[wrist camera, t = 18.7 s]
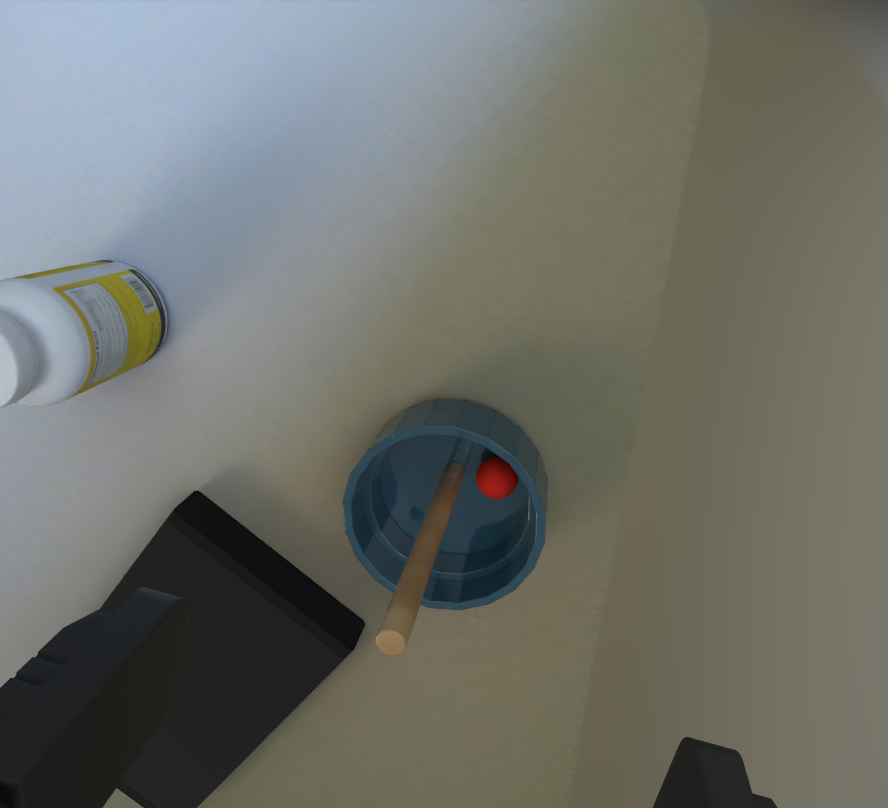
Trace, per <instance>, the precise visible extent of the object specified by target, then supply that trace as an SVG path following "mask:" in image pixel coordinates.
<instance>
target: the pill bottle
mask: <svg viewBox="0 0 888 808" xmlns="http://www.w3.org/2000/svg"><path fill="white" fill-rule="evenodd" d="M167 326H168V320H167V312H166V308H165V304H164V302H163V299H162V297H161V295H160V293H159V292H158V290H157V289H156V287H155V286H154V284H153V283H152V282H151V281H150V280H149V279H148V278H147V277H146V276H145V275H144V274H143V273H141V272H140V271H138V270H137V269H135V268H134V267H132V266H130V265H127V264H125V263H121V262H118V261H110V260H103V261H95V262H90V263H85V264H79V265H74V266H69V267H64V268H58V269H53V270H48V271H43V272H39V273H34V274H29V275H24V276H19V277H14V278H9V279H5V280H1V281H0V408H2V407H5V406H7V405H10V404H12V403H14V402H15V403H18V404H22V405H26V406H48V405H53V404H57V403H59V402H62V401H64V400H67V399H69V398H71V397H73V396H75V395H77V394H79V393H82V392H84V391H86V390H88V389H90V388H92V387H94V386H96V385H98V384H101V383H103V382H105V381H107V380H109V379H111V378H113V377H116V376H118V375H120V374H122V373H124V372H126V371H128V370H130V369H132V368H134V367H136V366H138V365H141V364H143V363H145V362H146V361H148V360H149V359H151V358H152V357H153V356H154V355H155V354H156V353H157V352H158V351H159V349H160V348H161V346H162V344H163V342H164V340H165V337H166V333H167Z"/></svg>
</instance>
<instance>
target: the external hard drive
mask: <svg viewBox="0 0 888 808" xmlns="http://www.w3.org/2000/svg"><path fill="white" fill-rule="evenodd" d="M141 587H145V588H148V589H152V590H156V591H159V592H163V593H167V594H170V595H174V596H178V597H181V598H185V599H187V600H188V603H189V625H188V642H187V659H186V672H185V678H184V682H183V685H182V688H181V691H180V694H179V696H178V698H177V700H176V702H175V704H174V706H173V708H172V710H171V711H170V713H169V714H168V716H167V717H166V718H165V720H164V721H163V723H162V724H161V725H160V727H159V728H158V730H157V731H156V733H155V734H154V735H153V737H152V738H151V740H150V741H149V742H148V744H147V745H146V747H145V748H144V750H143V751H142V752H141V754H140V755H139V757H138V758H137V759H136V761H135V762H134V764H133V765H132V767H131V768H130V769H129V771H128V772H127V774H126V775H125V776H124V778H123V779H122V781H121V782H120V784H119V785H118V786H117V788H118V789H119V790H120V791H122V792H123V793H124V794H126V795H127V796H129V797H130V798H131V799H133V800H134V801H135V802H137V803H138V804H139V805H141V806H142V807H144V808H197V807H198V806H199V805H200V804H201V803H202V802H203V801H204V800H205V799H206V798H207V797H208V796H209V795H210V794H211V793H212V792H213V791H214V790H215V789H216V788H217V787H218V786H219V785H220V784H221V783H222V782H223V781H224V780H225V779H226V778H227V777H228V776H229V775H230V774H231V773H232V772H233V771H234V770H235V769H236V768H237V767H238V766H239V765H240V764H241V763H242V762H243V761H244V760H245V759H246V758H247V757H248V756H249V755H250V754H251V753H252V752H253V751H254V750H255V749H256V748H257V747H258V746H259V745H260V744H261V743H262V741H263V740H264V739H265V738H266V737H267V736H268V735H269V734H270V733H271V732H272V731H273V730H274V729H275V728H276V727H277V726H278V725H279V724H280V723H281V722H282V721H283V720H284V719H285V718H286V717H287V716H288V715H289V714H290V713H291V712H292V711H293V710H294V709H295V708H296V707H297V706H298V705H299V704H300V703H301V702H302V701H303V700H304V699H305V698H306V697H307V696H308V695H309V694H310V693H311V692H312V691H313V690H314V689H315V688H316V687H317V686H318V685H319V684H320V683H321V682H322V681H323V680H324V679H325V678H326V677H327V676H328V675H329V674H330V673H331V672H332V671H333V670H334V669H335V668H336V667H337V666H338V665H339V664H340V663H341V662H342V661H343V660H344V659H345V658H346V657H347V656H348V655H349V654H350V653H351V652H352V651H353V650H354V648H355V646H356V644H357V642H358V639H359V637H360V635H361V633H362V630H363V628H364V626H365V623H364V621H363V620H362V619H360V618H359V617H358V616H357V615H355V614H354V613H353V612H351V611H350V610H349V609H348V608H346V607H345V606H344V605H343V604H341V603H340V602H339V601H338V600H336V599H335V598H334V597H332V596H331V595H330V594H329V593H327V592H326V591H325V590H324V589H322V588H321V587H320V586H318V585H317V584H316V583H315V582H313V581H312V580H311V579H310V578H308V577H307V576H306V575H304V574H303V573H302V572H301V571H299V570H298V569H297V568H296V567H294V566H293V565H292V564H291V563H289V562H288V561H287V560H285V559H284V558H283V557H282V556H280V555H279V554H278V553H277V552H275V551H274V550H273V549H271V548H270V547H269V546H268V545H266V544H265V543H264V542H263V541H261V540H260V539H259V538H258V537H256V536H255V535H254V534H252V533H251V532H250V531H249V530H247V529H246V528H245V527H244V526H242V525H241V524H240V523H238V522H237V521H236V520H235V519H233V518H232V517H231V516H230V515H228V514H227V513H226V512H225V511H223V510H222V509H221V508H219V507H218V506H217V505H216V504H214V503H213V502H212V501H211V500H209V499H208V498H207V497H205V496H204V495H203V494H202V493H200V492H199V491H194V492H193V493H192V494H191V495H190V496H188V497H187V498H186V499H185V500H184V501H183V502H182V503H180V504H179V505H178V506H177V507H176V508H175V509H174V510H173V511H172V513H171V514H170V515H169V517H168V518H167V519H166V521H165V522H164V523H163V525H162V526H161V527H160V529H159V530H158V531H157V533H156V534H155V536H154V537H153V538H152V540H151V541H150V542H149V544H148V545H147V546H146V548H145V549H144V550H143V552H142V553H141V554H140V556H139V557H138V558H137V560H136V561H135V562H134V564H133V565H132V566H131V568H130V569H129V570H128V572H127V573H126V574H125V576H124V577H123V578H122V580H121V581H120V583H119V584H118V585H117V587H116V588H115V589H114V591H113V592H112V593H111V595H110V596H109V597H108V599H107V600H106V601H105V603H104V604H103V605H102V607H101V608H100V609H99V611H102V612H106V613H110V614H113V613H114V612H115V611H116V610H117V609H118V608H119V607H120V606H121V605H122V603H123V602H124V601H125V600H126V599H127V598H128V597H129V596H130V595H131V594H132V593H133V592H135V591H136V590H137V589H139V588H141Z"/></svg>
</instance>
